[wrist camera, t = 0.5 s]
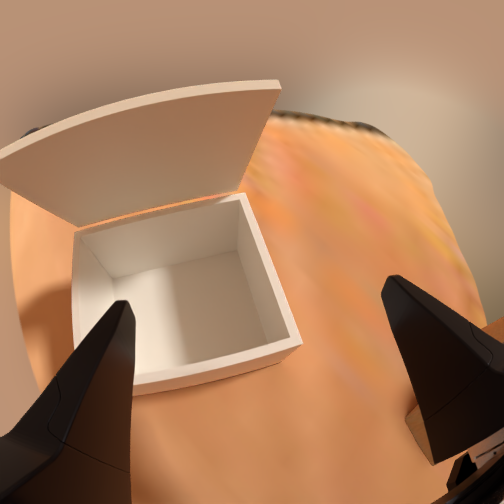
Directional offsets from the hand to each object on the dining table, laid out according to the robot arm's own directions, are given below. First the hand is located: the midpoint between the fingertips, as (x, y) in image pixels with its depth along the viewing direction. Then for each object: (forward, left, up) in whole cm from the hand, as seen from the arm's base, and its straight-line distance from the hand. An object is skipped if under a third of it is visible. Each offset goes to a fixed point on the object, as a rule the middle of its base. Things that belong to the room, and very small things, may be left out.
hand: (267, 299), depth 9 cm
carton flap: (+7, +7, -2) cm, 10 cm away
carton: (+3, +6, -15) cm, 17 cm away
